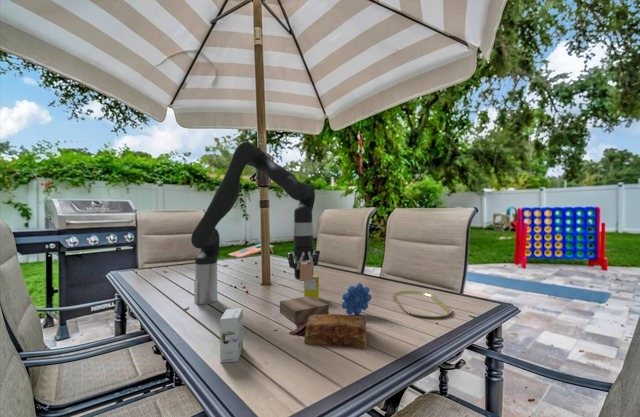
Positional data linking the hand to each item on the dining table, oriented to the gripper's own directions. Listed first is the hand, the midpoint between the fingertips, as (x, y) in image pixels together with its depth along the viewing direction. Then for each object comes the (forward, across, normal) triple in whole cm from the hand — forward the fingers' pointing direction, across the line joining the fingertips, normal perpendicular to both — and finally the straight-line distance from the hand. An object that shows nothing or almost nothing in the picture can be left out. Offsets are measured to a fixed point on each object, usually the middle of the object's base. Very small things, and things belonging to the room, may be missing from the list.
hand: (304, 277), depth 115 cm
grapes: (+15, -17, +11) cm, 25 cm away
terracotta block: (+1, 0, 0) cm, 1 cm away
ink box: (+14, +33, +17) cm, 40 cm away
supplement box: (+14, -12, -14) cm, 23 cm away
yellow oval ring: (+15, -47, +17) cm, 52 cm away
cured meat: (+15, +3, +20) cm, 25 cm away
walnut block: (+15, 0, 0) cm, 15 cm away
